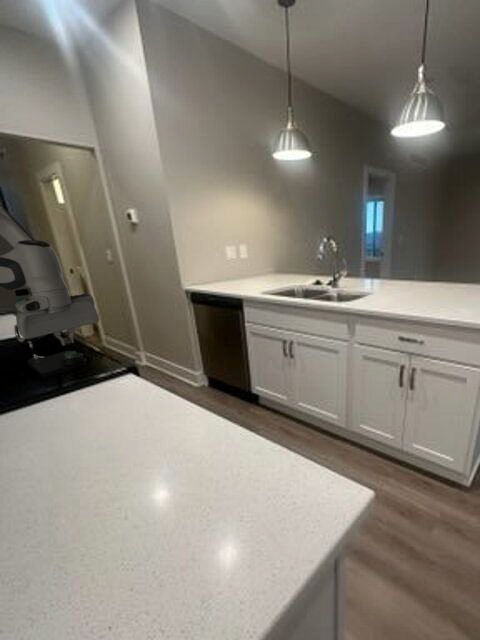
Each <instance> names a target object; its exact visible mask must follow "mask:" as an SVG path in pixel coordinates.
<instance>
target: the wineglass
mask: <svg viewBox="0 0 480 640" xmlns="http://www.w3.org/2000/svg"><path fill="white" fill-rule="evenodd" d="M13 327H14V335H15V338H16V339H17V341H18V342H20V343H21V344H24V345H25V344H26V345H29V348H30V349H31V351H32V354H33V357H31V358H29V359H28V360H27V362H28V361H32V360H36V359H39V358H43V357H45V356H42V355H39V356H38V355H37V354H36V352H35V349H34V345H33V344H34V343H36V342H37V340H39V339H38V337H34V338H30V339H26V338H24V337H22V336H21V335H20V332H19V329H18V326H17V324H15V325H13Z"/></svg>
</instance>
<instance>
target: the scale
mask: <svg viewBox="0 0 480 640" xmlns="http://www.w3.org/2000/svg"><path fill="white" fill-rule="evenodd" d="M71 351H72V350H65V351H61V352H57V353H55V354H50V355H47V356H44V357H43V358H39V359H36V360H32V361H28V360H27V364H28V366H29V367H30V368H31V369H33V370H34V371H35V372H36V373H37V374H38V375H39V376H40V377H42V378H43V379H44V378H48V377H51V376H54V375H58V374H61V373H64V372H68V371H71V370H73V369H74V370H75V369H77V368H80V367H84V366H86V365H87V366H88V365H89V361H88V360H87V358H85V355H84V353H82V352H77V355H78V356H77V357H75V358H71V359H66V358H65V355H64V354H65V353H67V352H71Z"/></svg>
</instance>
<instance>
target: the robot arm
mask: <svg viewBox="0 0 480 640" xmlns="http://www.w3.org/2000/svg"><path fill="white" fill-rule="evenodd" d="M0 236H1V237H3V239H4V240H6V241H7V243H9V245H10V246H11V247H13V249H11V250H9V251H8V252H6V253H4V254H2V255H0V287H1V288H3V289H4V290H8V291H15V290H19V289H30V293H31V295H30V296H28V297H25V298H26V299H24V300H21V301H19V302H17V303H16V304H15V303H14V307H15V309H16V310H17V313H16V316H15V320H16V321H15V322H16V325H17V326H18V329H19V332H20V335H21V336H22V337H24V338H26V339H30V338H34V337H38V336H43V335H47V336H48V335H50V334H51V335H52V334H53V336H54V337H56V338H57V339H58V340H59V341H60V343H61V345H62V346H67V345H72V344H74V343H75V341H74V336H75V332H76V331H75V328H80V327H84V326H89V325H92V324H96V323H98V322H99V320H100V316H99V313H98V311H97V309H96V307H95V301H94V297H93V296H92V295H91V294H87V293H81V294H74V295H71V293H70V291H69V287H68V285H67V283H66V281H65V280H64V279H65V278H64V274H63V273H64V272H63V269H62V268H63V267H62V265H61V261H60V259H59V257H58V254H57V252H56V251H55V249H54V248H53V246H52V244H50V243H49V242H46V241H44V240H37V239H35V238H34V237H33V236H32V235H31V234H30V233H29V231H27V229H25V227H23V226H22V225H21V223H20V222H19V221H18V220H17V219H15V218H14V216H13V215H12V214H11V213H10V212H8V210H7V209H6V208H4V207H3V206H1V205H0ZM18 311H19V312H18ZM62 331H67V332H68V336H67V337H65V338H63V337H62V336H61V335H62V333H61V332H62Z"/></svg>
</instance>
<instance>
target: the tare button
mask: <svg viewBox="0 0 480 640" xmlns="http://www.w3.org/2000/svg"><path fill="white" fill-rule="evenodd" d="M70 351H71V352H67V353H65V354H64V355H65V358H66V359H71V358H75V357H77V356H78V355H77V353H78V352H77V351H76V350H70Z"/></svg>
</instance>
